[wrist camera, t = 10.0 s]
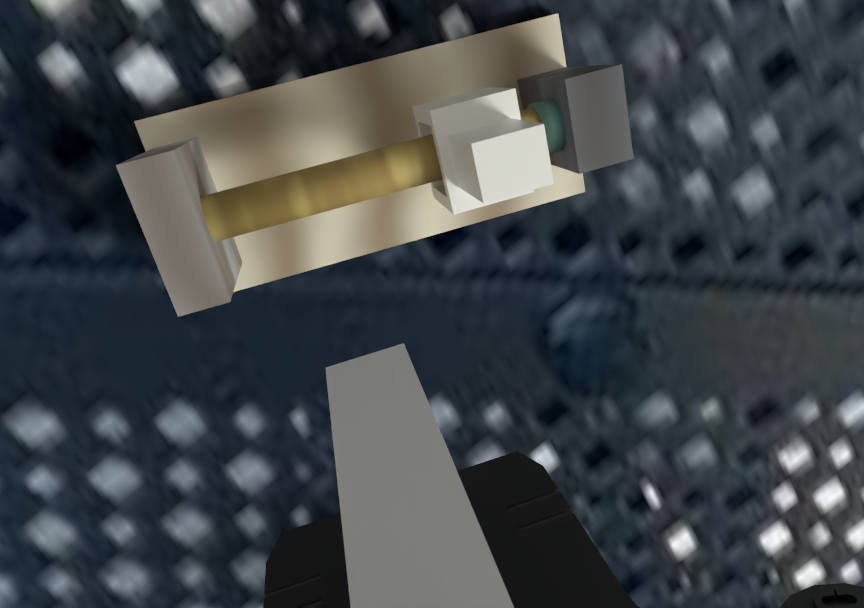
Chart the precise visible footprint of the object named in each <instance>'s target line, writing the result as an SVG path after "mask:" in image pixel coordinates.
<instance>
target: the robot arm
mask: <svg viewBox="0 0 864 608" xmlns="http://www.w3.org/2000/svg"><path fill="white" fill-rule="evenodd" d="M326 377H327V387H328V396H329V406H330V415H331V425H332V435H333V444H334V454H335V463H336V473H337V482H338V492H339V502H340V511H341V513H339V514H336V515H333V516H330V517H327V518H324V519H321V520H318V521H315V522H312V523H309V524H306V525H303V526H301V527H298V528H295V529H292V530H289V531H286V532H283V533H282V534H281V536H280V538H279V540H278V542H277V544H276V545H275V547H274V549H273V551H272V553H271V555H270V557H269V559H268V560H267V562H266V575H265V591H264V593H265V598H266V599H264V607H263V608H640V607H638V606H637V605H636V604H635V603H634V602H633V601H632V599H631V598H630V597H629V596H628V595H627V594H626V592H625V591H624V590H623V588H622V586H621V585H620V583H619V582H618V580H617V579H616V577H615V576H614V574H613V573H612V571H611V570H610V568H609V567H608V565H607V563H606V562H605V560H604V559H603V557H602V556H601V554H600V553H599V551H598V550H597V548H596V547H595V545H594V543H593V542H592V540H591V539H590V537H589V536H588V534H587V533H586V531H585V530H584V528H583V527H582V525H581V524H580V522H579V520H578V519H577V517H576V516H575V514H573V513H572V511H571V508H570V507H569V505H568V504H567V502H566V500H565V499H564V497H563V496H562V494H560V493H559V491H558V488H557V487H556V485H555V484H554V482H553V481H552V479H551V477H550V476H549V474H548V473H547V471H546V470H545V468H544V467H543V466H542V465H540V464H539V463H537V462H535V461H533V460H532V459H530V458H528V457H526V456H525V455H523V454H521V453H519V452H518V451H516V452H513V453H510V454H507V455H504V456H501V457H498V458H495V459H492V460H489V461H486V462H483V463H480V464H477V465H474V466H471V467H469V468H466V469H463V470H460V471H457V470H456V468H455V465H454V463H453V460H452V458H451V456H450V453H449V451H448V448H447V446H446V444H445V441H444V439H443V436H442V434H441V432H440V429H439V427H438V425H437V422H436V420H435V417H434V415H433V413H432V410H431V408H430V405H429V403H428V401H427V398H426V396H425V393H424V391H423V389H422V386H421V384H420V381H419V379H418V377H417V374H416V372H415V370H414V367H413V365H412V362H411V360H410V358H409V355H408V353H407V350H406V348H405V346H404V343H403V344H400V345H397V346H394V347H391V348H387V349H384V350H381V351H378V352H375V353H371V354H368V355H365V356H362V357H359V358H355V359H352V360H349V361H346V362H343V363H339V364H336V365H333V366H330V367H326ZM780 608H864V587H861V586H856V585H851V584H846V583H842V584H826V585H814V586H811V587H809V588H807V589H804V590H802V591H800V592H797V593H795V594H792V595H790V596H789V598H788V599H787V600H786V601H785V602H784V604H783V605H782V606H781V607H780Z"/></svg>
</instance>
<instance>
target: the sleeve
mask: <svg viewBox="0 0 864 608" xmlns="http://www.w3.org/2000/svg"><path fill="white" fill-rule="evenodd" d="M412 108H413V112H414V117H415V121H416V125H417V129H418V133H419V138H420V137H424V136H428V135H432V134H433V138H434V143H435V147H436V151H437V156H438V160H439V164H440V169H441V173H442V177H443V179H442V180H438V181H435V182H431V183H430V184H431V188H432V192H433V196H434V198H435V199H436V200H437V201H438V202H439V203H441V204H442V205H443V206H444V207H445V208H446V209H448V210H449V211H450V212H451V213H452V214H453V215H455V214H458V213H462V212H465V211H469V210H472V209H476V208H479V207H483V206H486V205H490V204H493V203H497V202H501V201H504V200H508V199H511V198H515V197H518V196H522V195H525V194H529V193H532V192H534V189H537V188H541V187H544V186H548V185H551V184H554V180H553V174H552V168H551V162H550V156H549V150H548V145H547V139H546V133H545V127H544V124H542V123H536V122H530V121H524V120H521V116H520V111H519V105H518V100H517V94H516V89H515V88H495V87H486V88H482V89H478V90H474V91H470V92H467V93H463V94H459V95H455V96H451V97H448V98H444V99H440V100H436V101H432V102H429V103H425V104H421V105H417V106H413V107H412Z"/></svg>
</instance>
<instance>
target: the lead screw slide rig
mask: <svg viewBox="0 0 864 608" xmlns="http://www.w3.org/2000/svg"><path fill="white" fill-rule="evenodd" d="M486 87H495V88H515V89H516V94H517V100H518V105H519V111H520V116H521V120H524V121H530V122H536V123H542V124H544V127H545V133H546V139H547V145H548V150H549V156H550V162H551V168H552V174H553V180H554V184H551V185H548V186H544V187H541V188H537V189H534V192H532V193H529V194H525V195H522V196H518V197H515V198H511V199H508V200H504V201H501V202H497V203H493V204H490V205H486V206H483V207H479V208H476V209H472V210H469V211H465V212H462V213H458V214H455V215H453V214H452V213H451V212H450V211H449V210H448V209H446V208H445V207H444V206H443V205H442V204H441V203H439V202H438V201H437V200H436V199H435V198H434V196H433V192H432V188H431V184H430V183H431V182H435V181H438V180H442V179H443V177H442V173H441V169H440V164H439V160H438V156H437V151H436V147H435V143H434V138H433V134H432V135H428V136H424V137H420V138H419V133H418V129H417V125H416V121H415V117H414V112H413V108H412V107H413V106H417V105H421V104H425V103H429V102H432V101H436V100H440V99H444V98H448V97H451V96H455V95H459V94H463V93H467V92H470V91H474V90H478V89H482V88H486ZM134 123H135V125H136V128H137V130H138V133H139V136H140V138H141V141H142V143H143V146H144V148H145V151H146V152H144V153H142V154H139V155H137V156H135V157H133V158H131V159H128V160H126V161H124V162H122V163H120V164H118V165H116V167H117V170H118V172H119V175H120V177H121V179H122V182H123V184H124V187H125V189H126V192H127V194H128V196H129V199H130V201H131V204H132V206H133V209H134V211H135V213H136V216H137V218H138V221H139V223H140V226H141V228H142V230H143V233H144V235H145V238H146V240H147V242H148V245H149V247H150V250H151V252H152V255H153V257H154V259H155V262H156V264H157V267H158V269H159V272H160V274H161V276H162V279H163V281H164V284H165V286H166V289H167V291H168V293H169V296H170V298H171V301H172V303H173V306H174V308H175V310H176V313H177V315H178V317H179V316H182V315H186V314H189V313H193V312H196V311H200V310H203V309H207V308H210V307H214V306H217V305H221V304H224V303H228V302H230V301H231V298H232V294H233V292H235V291H239V290H242V289H246V288H249V287H253V286H256V285H260V284H263V283H267V282H270V281H274V280H277V279H281V278H284V277H288V276H291V275H295V274H298V273H302V272H305V271H309V270H312V269H316V268H319V267H323V266H326V265H330V264H333V263H337V262H340V261H344V260H347V259H351V258H354V257H358V256H361V255H365V254H369V253H372V252H376V251H379V250H383V249H386V248H390V247H393V246H397V245H400V244H404V243H407V242H411V241H414V240H418V239H421V238H425V237H428V236H432V235H435V234H439V233H442V232H446V231H449V230H453V229H456V228H460V227H463V226H467V225H470V224H474V223H477V222H481V221H484V220H488V219H491V218H495V217H498V216H502V215H505V214H509V213H512V212H516V211H519V210H523V209H526V208H530V207H533V206H537V205H540V204H544V203H547V202H551V201H554V200H558V199H561V198H565V197H569V196H572V195H576V194H579V193H583V192H585V187H584V180H583V174H582V173H584V172H588V171H592V170H595V169H599V168H602V167H606V166H609V165H613V164H616V163H620V162H623V161H627V160H631V159H633V151H632V143H631V135H630V126H629V118H628V110H627V102H626V94H625V85H624V77H623V69H622V64H616V65H597V66H579V67H566V61H565V55H564V48H563V42H562V35H561V28H560V22H559V15H558V14H554V15H550V16H546V17H542V18H538V19H534V20H530V21H526V22H522V23H518V24H514V25H510V26H506V27H503V28H499V29H495V30H491V31H487V32H483V33H479V34H475V35H471V36H467V37H463V38H459V39H455V40H451V41H448V42H444V43H440V44H436V45H432V46H428V47H424V48H420V49H416V50H412V51H408V52H404V53H400V54H396V55H393V56H389V57H385V58H381V59H377V60H373V61H369V62H365V63H361V64H357V65H353V66H349V67H345V68H341V69H338V70H334V71H330V72H326V73H322V74H318V75H314V76H310V77H306V78H302V79H298V80H294V81H290V82H286V83H283V84H279V85H275V86H271V87H267V88H263V89H259V90H255V91H251V92H247V93H243V94H239V95H235V96H231V97H228V98H224V99H220V100H216V101H212V102H208V103H204V104H200V105H196V106H192V107H188V108H184V109H180V110H176V111H173V112H169V113H165V114H161V115H157V116H153V117H149V118H145V119H141V120H137V121H134Z"/></svg>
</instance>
